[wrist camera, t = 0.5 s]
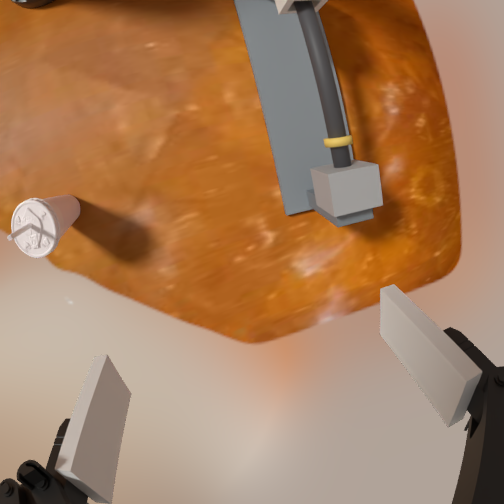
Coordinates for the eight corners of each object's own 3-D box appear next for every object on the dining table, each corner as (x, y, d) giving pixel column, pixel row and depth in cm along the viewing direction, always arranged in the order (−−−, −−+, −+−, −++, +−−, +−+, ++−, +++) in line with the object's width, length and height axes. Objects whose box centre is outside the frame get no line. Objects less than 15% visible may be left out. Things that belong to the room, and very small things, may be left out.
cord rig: (229, -13, 28) (237, -61, 17) (305, -19, 28) (335, -61, 17) (285, 213, 39) (313, 243, 28) (356, 196, 39) (404, 219, 29)
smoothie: (85, 180, 34) (27, 203, 21) (93, 228, 36) (44, 272, 23) (45, 189, 34) (-18, 216, 21) (54, 235, 36) (-1, 278, 23)
